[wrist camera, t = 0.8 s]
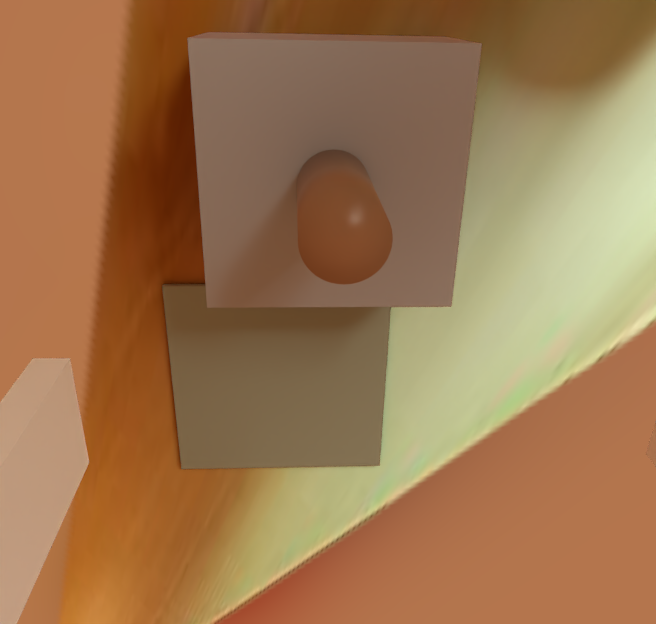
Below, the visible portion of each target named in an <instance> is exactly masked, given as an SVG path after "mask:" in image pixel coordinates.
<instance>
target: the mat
mask: <svg viewBox="0 0 656 624" xmlns="http://www.w3.org/2000/svg"><path fill="white" fill-rule="evenodd" d="M162 290H163V300H164V309H165V318H166V328H167V337H168V347H169V356H170V365H171V375H172V384H173V394H174V403H175V412H176V422H177V431H178V441H179V450H180V459H181V469H216V468H271V467H326V466H380V453H381V438H382V424H383V410H384V395H385V381H386V366H387V352H388V338H389V323H390V309H391V307H247V308H207V299H206V285H205V284H163V286H162Z"/></svg>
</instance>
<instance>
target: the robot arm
mask: <svg viewBox="0 0 656 624" xmlns="http://www.w3.org/2000/svg"><path fill="white" fill-rule="evenodd" d="M646 455H647V456H648V457H649V459H650V460H651V461H652V462H653V464H654V465H655V466H656V422H655V425H654V428H653V432H652V435H651V438H650V441H649V445H648V448H647V451H646ZM88 464H89V458H88V453H87V447H86V442H85V436H84V431H83V426H82V420H81V415H80V409H79V404H78V399H77V393H76V388H75V382H74V377H73V372H72V366H71V361H70V358H33V359H32V360H31V362H30V363H29V364H28V365H27V367H26V368H25V369H24V371H23V372H22V373H21V375H20V376H19V377H18V379H17V380H16V381H15V383H14V384H13V386H12V387H11V389H10V390H9V391H8V392H7V394H6V395H5V396H4V398H3V399H2V400H1V402H0V624H17V622H18V620H19V618H20V616H21V613H22V611H23V609H24V607H25V604H26V602H27V600H28V598H29V595H30V593H31V591H32V589H33V587H34V584H35V582H36V580H37V577H38V575H39V573H40V571H41V569H42V567H43V564H44V562H45V560H46V558H47V555H48V553H49V551H50V549H51V547H52V544H53V542H54V540H55V538H56V535H57V533H58V531H59V528H60V526H61V524H62V522H63V520H64V518H65V515H66V513H67V511H68V509H69V506H70V504H71V502H72V500H73V498H74V495H75V493H76V491H77V489H78V486H79V484H80V482H81V480H82V478H83V475H84V473H85V471H86V469H87V466H88Z"/></svg>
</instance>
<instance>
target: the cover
mask: <svg viewBox="0 0 656 624" xmlns="http://www.w3.org/2000/svg"><path fill="white" fill-rule="evenodd" d="M187 39H188V53H189V66H190V80H191V94H192V107H193V121H194V135H195V148H196V162H197V176H198V189H199V203H200V217H201V231H202V244H203V258H204V272H205V285H206V299H207V308H247V307H451V305H452V296H453V288H454V279H455V271H456V262H457V254H458V245H459V236H460V228H461V219H462V211H463V202H464V194H465V185H466V176H467V168H468V159H469V151H470V142H471V134H472V125H473V116H474V108H475V99H476V91H477V82H478V74H479V65H480V56H481V48H482V43H477V42H472V41H467V40H462V39H456V38H451V37H446V36H397V35H343V34H290V33H236V32H207V33H203V34H200V35H196V36H193V37H189V38H187Z"/></svg>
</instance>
